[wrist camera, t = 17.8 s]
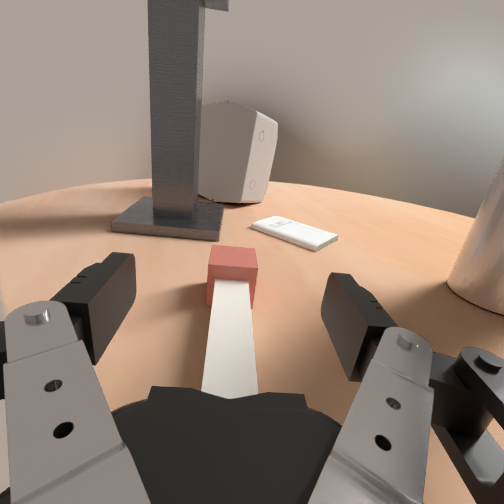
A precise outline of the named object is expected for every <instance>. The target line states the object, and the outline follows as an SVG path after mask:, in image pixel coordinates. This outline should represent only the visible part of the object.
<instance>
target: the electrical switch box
mask: <svg viewBox="0 0 504 504" xmlns="http://www.w3.org/2000/svg"><path fill="white" fill-rule="evenodd" d="M277 132H278V123H277V122H275V121H274V120H272V119H270V118H269V117H267V116H265V115H263V114H261V113H259V112H258V111H256V110H253V109H250V108H247V107H244V106H241V105H239V104H236V103H233V102H230V101H224V102H218V103H212V104H206V105H201V128H200V153H199V179H198V194H200V195H201V196H203V197H205V198H207V199H209V200H210V201H213V202H231V203H260V202H262V200H263V198H264V195H265V192H266V190H267V186H268V182H269V177H270V172H271V167H272V162H273V158H274V153H275V148H276V143H277Z"/></svg>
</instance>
